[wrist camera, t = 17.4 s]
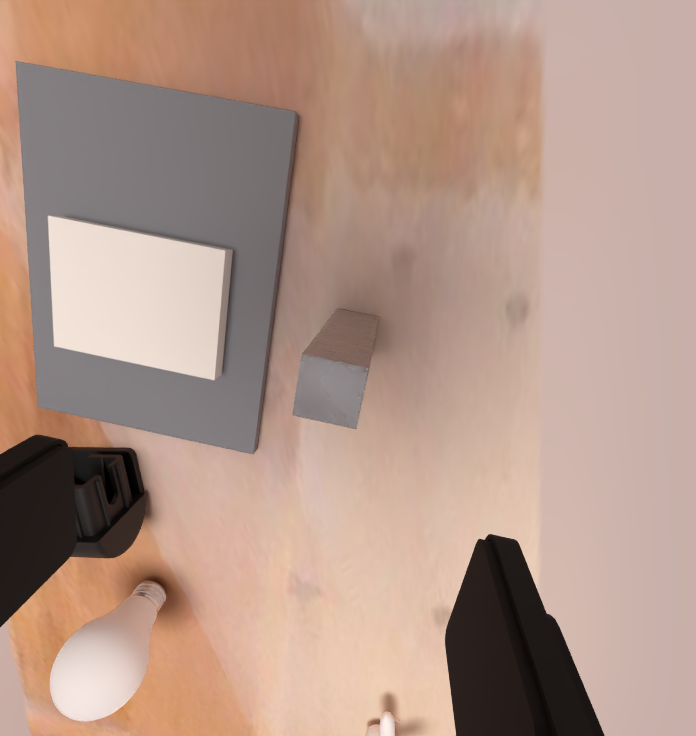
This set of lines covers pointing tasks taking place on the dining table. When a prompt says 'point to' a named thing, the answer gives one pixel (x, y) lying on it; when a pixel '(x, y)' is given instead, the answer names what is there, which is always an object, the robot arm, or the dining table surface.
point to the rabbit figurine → (383, 726)
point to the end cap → (107, 501)
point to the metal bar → (336, 369)
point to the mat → (160, 217)
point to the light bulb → (107, 657)
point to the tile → (139, 296)
